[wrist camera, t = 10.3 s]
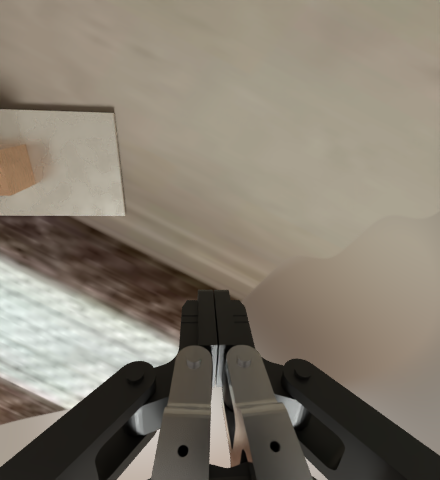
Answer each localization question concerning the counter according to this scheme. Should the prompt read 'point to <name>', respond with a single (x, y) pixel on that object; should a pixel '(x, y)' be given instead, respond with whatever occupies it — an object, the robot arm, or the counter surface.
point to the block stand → (66, 163)
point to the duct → (15, 169)
